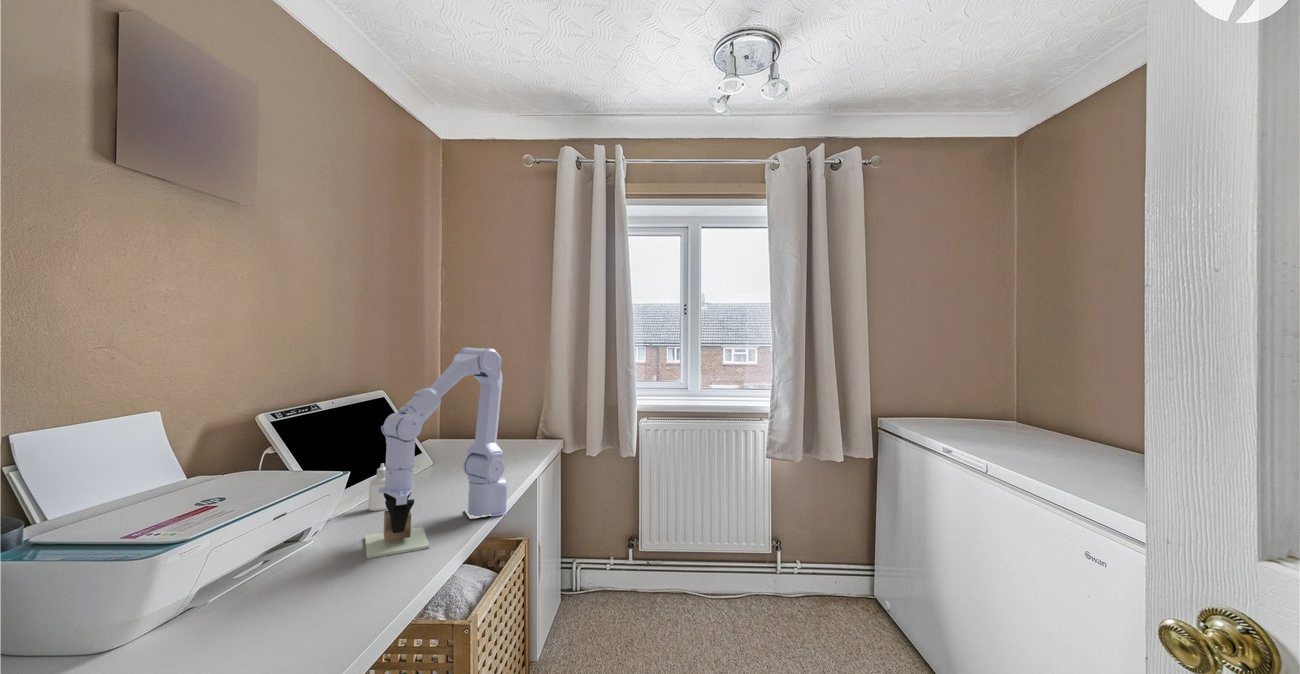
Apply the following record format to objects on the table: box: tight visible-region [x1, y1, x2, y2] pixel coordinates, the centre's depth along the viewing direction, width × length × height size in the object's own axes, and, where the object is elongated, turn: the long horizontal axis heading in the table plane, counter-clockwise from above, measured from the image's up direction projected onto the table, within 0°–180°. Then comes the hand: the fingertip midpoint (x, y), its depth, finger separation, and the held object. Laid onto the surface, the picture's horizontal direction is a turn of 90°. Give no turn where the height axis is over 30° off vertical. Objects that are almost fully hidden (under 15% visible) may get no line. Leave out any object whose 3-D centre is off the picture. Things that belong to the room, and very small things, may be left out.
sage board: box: [364, 526, 430, 560], centre depth 110 cm, size 12×12×1 cm
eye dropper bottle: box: [368, 462, 388, 512], centre depth 132 cm, size 4×6×12 cm
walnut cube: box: [383, 510, 412, 541], centre depth 110 cm, size 5×5×5 cm
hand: (397, 527), depth 111 cm, fingers closed on walnut cube, 5 cm apart
